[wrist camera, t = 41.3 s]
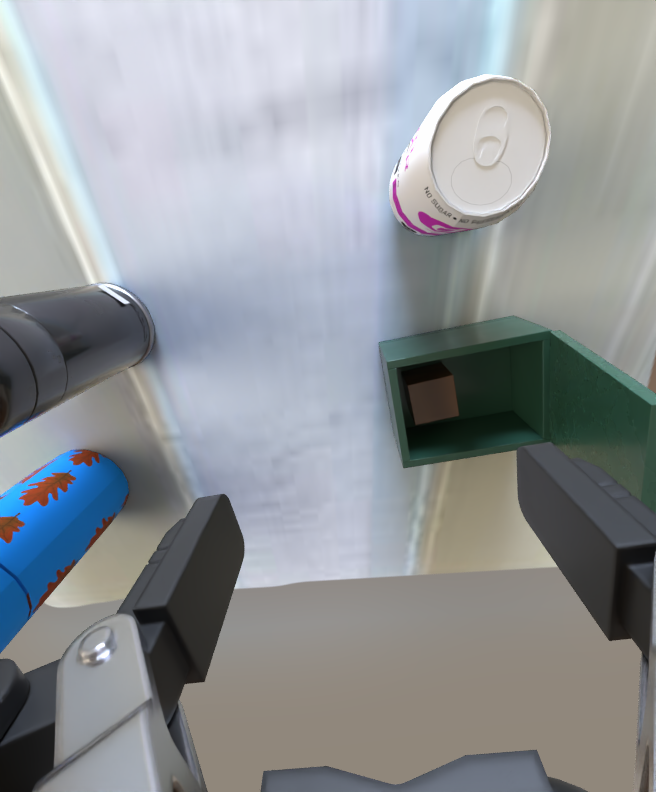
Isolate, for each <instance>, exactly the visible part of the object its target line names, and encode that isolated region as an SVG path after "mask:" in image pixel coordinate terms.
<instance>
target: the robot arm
mask: <svg viewBox="0 0 656 792" xmlns="http://www.w3.org/2000/svg"><path fill="white" fill-rule="evenodd" d="M154 339H155V330H154V324H153V321H152V318H151V316H150V313H149V312H148V310H147V308H146V307H145V305H144V304H143V303H142V302H141V301H140V299H138V298H137V297H136V296H135V295H134V294H133V293H131V292H130V291H128V290H126V289H125V288H122V287H120V286H117V285H114V284H109V283H98V284H91V285H87V286H83V287H74V288H67V289H60V290H52V291H45V292H38V293H30V294H23V295H16V296H8V297H1V298H0V438H1V437H3V436H4V435H6V434H8V433H10V432H12V431H13V430H15V429H17V428H19V427H21V426H22V425H24V424H26V423H28V422H30V421H32V420H33V419H35V418H37V417H39V416H41V415H43V414H44V413H46V412H48V411H50V410H51V409H53V408H55V407H57V406H59V405H61V404H62V403H64V402H66V401H68V400H70V399H72V398H73V397H75V396H77V395H79V394H81V393H83V392H84V391H86V390H88V389H90V388H92V387H94V386H95V385H97V384H99V383H101V382H103V381H105V380H106V379H108V378H110V377H112V376H114V375H116V374H118V373H120V372H121V371H123V370H125V369H127V368H130V367H132V366H134V365H136V364H138V363H140V362H141V361H143V360H144V359H145V358H146V357H147V356H148V354H149V353H150V351H151V350H152V347H153V344H154ZM517 483H518V500H519V504H520V508H521V511H522V513H523V515H524V517H525V519H526V521H527V522H528V524H529V525H530V527H531V528H532V530H533V531H534V533H535V534H536V535H537V537H538V538H539V540H540V541H541V543H542V544H543V546H544V547H545V548H546V550H547V551H548V553H549V554H550V556H551V557H552V559H553V560H554V561H555V563H556V564H557V566H558V567H559V569H560V570H561V571H562V573H563V575H564V576H565V577H566V579H567V580H568V582H569V583H570V584H571V586H572V587H573V589H574V590H575V592H576V593H577V595H578V596H579V598H580V599H581V601H582V602H583V604H584V605H585V606H586V608H587V609H588V611H589V612H590V614H591V615H592V617H593V618H594V619H595V621H596V622H597V624H598V625H599V627H600V628H601V630H602V631H603V632H604V634H605V635H606V637H607V638H608V640H609V641H612V640H621V639H631V638H632V639H633V641H634V642H635V643H636V645H637V646H638V647H639V649H640V650H641V651H642V654H641V661H640V681H639V701H638V702H639V703H638V722H637V741H636V760H635V773H634V784H633V792H656V513H655V512H654V511H652V510H651V509H650V508H649V507H648V506H646V505H645V504H644V503H643V502H642V501H640V500H639V499H638V498H637V497H635V496H632V495H631V492H629V491H628V490H627V489H626V488H625V487H623V486H622V485H621V484H618V483H617V481H616V480H615V479H614V478H613V477H611V476H610V475H609V474H608V473H607V472H605V471H604V470H603V469H602V468H601V467H598V466H596V465H594V464H592V463H589V462H587V461H585V460H583V459H580V458H572V459H570V458H569V457H568V456H566V455H565V454H564V453H563V452H562V451H561V450H560V449H559V448H558V447H557V446H555V445H554V444H553V443H551V442H546V443H540V444H534V445H528V446H521V447H519V448H518V449H517ZM243 558H244V539H243V535H242V533H241V530H240V527H239V524H238V522H237V519H236V516H235V514H234V511H233V508H232V506H231V503H230V500H229V498H228V497H227V495H225V494H220V495H214V496H208V497H202V498H198V499H197V500H196V501H195V502H194V504H193V506H192V508H191V509H190V511H189V513H188V514H187V516H186V518H184V519H180V520H179V521H178V522H177V523H176V524H175V525H174V526H173V527H172V528H171V529H170V530H169V531H168V532H167V533H166V534H165V536H164V537H163V539H162V540H161V542H160V544H159V545H158V547H157V551H155V552H154V553H153V555H152V557H151V558H150V560H149V561H148V562H149V564H148V565H146V566H145V568H144V569H143V571H142V573H141V574H140V576H139V578H138V579H137V581H136V582H135V584H134V586H133V587H132V589H131V590H130V592H129V594H128V595H127V597H126V598H125V600H124V602H123V603H122V605H121V606H120V608H119V610H118V611H117V613H116V614H115V615H111V616H108V617H105V618H103V619H101V620H99V621H98V622H96V623H94V624H93V625H91V626H90V627H89V628H87V629H86V630H84V631H83V632H82V633H81V634H80V635H79V636H78V637H77V638H76V639H75V640H74V641H73V642H72V643H71V645H70V646H69V647H68V648H67V650H66V651H65V653H64V654H63V656H62V658H61V659H59V660H56V661H54V662H51V663H49V664H47V665H44V666H42V667H40V668H37V669H35V670H32V671H30V672H27V673H25V674H23V673H22V672H21V670H20V669H19V668H18V666H17V665H16V664H15V662H14V661H12V660H10V659H0V792H207V788H206V785H205V782H204V778H203V775H202V771H201V768H200V764H199V761H198V757H197V754H196V751H195V747H194V744H193V740H192V737H191V733H190V730H189V727H188V723H187V720H186V716H185V713H184V709H183V706H182V704H181V702H180V700H179V698H180V695H181V693H182V689H183V687H184V684H187V683H197V682H204V681H205V678H206V675H207V672H208V669H209V666H210V663H211V659H212V656H213V653H214V650H215V647H216V644H217V641H218V637H219V634H220V631H221V628H222V625H223V621H224V618H225V615H226V612H227V609H228V606H229V602H230V600H231V596H232V593H233V590H234V587H235V584H236V581H237V578H238V574H239V571H240V568H241V565H242V562H243ZM261 792H588V791H586V790H583V789H582V788H580V787H577V786H575V785H572V784H569V783H567V782H564V781H562V780H559V779H555V778H551V777H547V775H546V773H545V770H544V767H543V765H542V762H541V760H540V757H539V755H538V752H537V750H529V751H515V752H503V753H491V754H479V755H478V754H477V755H465V756H463V757H461V758H459V759H457V760H454V761H452V762H450V763H448V764H446V765H443V766H441V767H439V768H436V769H435V770H432V771H430V772H428V773H426V774H423V775H421V776H419V777H416V778H414V779H412V780H410V781H408V782H405V783H403V784H397V785H393V784H388V783H385V782H381V781H378V780H374V779H370V778H367V777H363V776H360V775H356V774H353V773H349V772H346V771H342V770H339V769H335V768H331V767H328V766H324V767H310V768H299V769H285V770H272V771H264V773H263V779H262V786H261Z"/></svg>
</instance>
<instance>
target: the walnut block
mask: <svg viewBox="0 0 656 792" xmlns="http://www.w3.org/2000/svg"><path fill="white" fill-rule="evenodd" d="M401 376H402V381H403V386H404V391H405V396H406V401H407V405H408V409H409V411H410V414H411V416H412V418H413V421H414V423H415V425H419V424H424V423H428V422H433V421H437V420H442V419H447V418H451V417H456V416H459V409H458V403H457V396H456V389H455V383H454V376H453V374H452V373H451V372H450V371H449V370H448V369H447V368H446V367H445V365H444V364H443V363H442V362H440V363H436V364H432V365H428V366H424V367H419V368H415V369H411V370H407V371H402V372H401Z"/></svg>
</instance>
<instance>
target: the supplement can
mask: <svg viewBox="0 0 656 792" xmlns="http://www.w3.org/2000/svg"><path fill="white" fill-rule="evenodd" d="M550 139H551V129H550V124H549V119H548V114H547V109H546V107H545V106H544V104H543V103H542V101H541V100H540V98H539V97H538V95H537V93H536V92H535V90H533V89H532V88H530V87H529V86H527V85H525V84H524V83H522V82H521V81H519V80H518V79H515V78H510V77H504V76H495V75H486V74H485V75H482V76H478V77H475V78H472V79H469V80H466V81H463V82H460V83H459V84H457V85H456V86H455V87H454V88H452V89H451V90H450V91H448V92H447V93H446V94H445V95H443V96H442V97H441V98H439V99H438V101H437V102H436V104H435V105H434V107H433V108H432V109H431V111H430V112H429V114H428V115H427V117H426V118H425V120H424V121H423V123H422V124H421V126H420V127H419V129H418V131H417V132H416V134H415V135H414V137H413V139H412V140H411V142H410V143H409V145H408V146H407V148H406V150H405V151H404V153H403V154H402V156H401V157H400V159H399V161H398V162H397V164H396V165H395V167H394V170H393V173H392V177H391V180H390V183H389V201H390V204H391V207H392V210H393V213H394V216H395V217H396V218H397V220H398V221H399V222H400V223H401V225H402V226H403V227H404V228H405V229H407V230H409V231H411V232H413V233H415V234H416V235H423V236H437V235H443V234H449V233H455V232H461V231H467V230H473V229H478V228H482V227H485V226H489V225H493V224H497V223H498V222H500V221H501V220H503V219H504V218H506V217H507V216H509V215H510V214H512V213H513V212H515V211H516V210H518V209H519V208H520V206H521V205H522V204H523V203H524V201H525V200H526V199H527V198H528V197H529V195H530V194H531V193H532V192H533V191H534V189H535V187H536V185H537V182H538V180H539V178H540V175H541V173H542V171H543V169H544V166H545V164H546V161H547V159H548V155H549V147H550Z"/></svg>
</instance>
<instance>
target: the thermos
mask: <svg viewBox="0 0 656 792" xmlns="http://www.w3.org/2000/svg"><path fill="white" fill-rule="evenodd" d="M128 495H129V488H128V482H127V480H126V478H125V476H124V474H123V472H122V470H121V469H120V468H119V467H118V466H117V465H116V464H115V463H114V462H113V461H111V460H110V459H108V458H106V457H105V456H103V455H101V454H99V453H96V452H92V451H88V450H71V451H69V452H66V453H64V454H61V455H60V456H58V457H56V458H55V459H53V460H52V461H50V462H48V463H47V464H45V465H44V466H42V467H40V468H39V469H37V470H36V471H34V472H33V473H31V474H30V475H29V476H27V477H26V478H24V479H23V480H22V481H20V482H19V483H17V484H16V485H15V486H13V487H12V488H10V489H9V490H8V491H6V492H5V493H3V494H2V495H1V496H0V653H1V652H2V651H3V650H4V648H5V647H6V646H7V645H8V644H9V643H10V641H11V640H12V639H13V638H14V637H15V635H16V634H17V633H18V632H19V631H20V630H21V628H22V627H23V626H24V625H25V624H26V622H27V621H28V620H29V619H30V618H31V617H32V615H33V614H34V613H35V612H36V611H37V610H38V608H39V607H40V606H41V605H42V604H43V603H44V601H45V600H46V599H47V598H48V597H49V595H50V594H51V593H52V592H53V591H54V590H55V588H56V587H57V586H58V585H59V584H60V583H61V581H62V580H63V579H64V578H65V577H66V575H67V574H68V573H69V572H70V571H71V570H72V568H73V567H74V566H75V565H76V564H77V563H78V561H79V560H80V559H81V558H82V557H83V555H84V554H85V553H86V552H87V551H88V550H89V548H90V547H91V546H92V545H93V544H94V543H95V541H96V540H97V539H98V538H99V537H100V535H101V534H102V533H103V532H104V531H105V530H106V528H107V527H108V526H109V525H110V524H111V522H112V521H113V520H114V518H115V517H116V516H117V514H118V513H119V512H120V510H121V509H122V508H123V506H124V505H125V504H126V501H127V498H128Z"/></svg>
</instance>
